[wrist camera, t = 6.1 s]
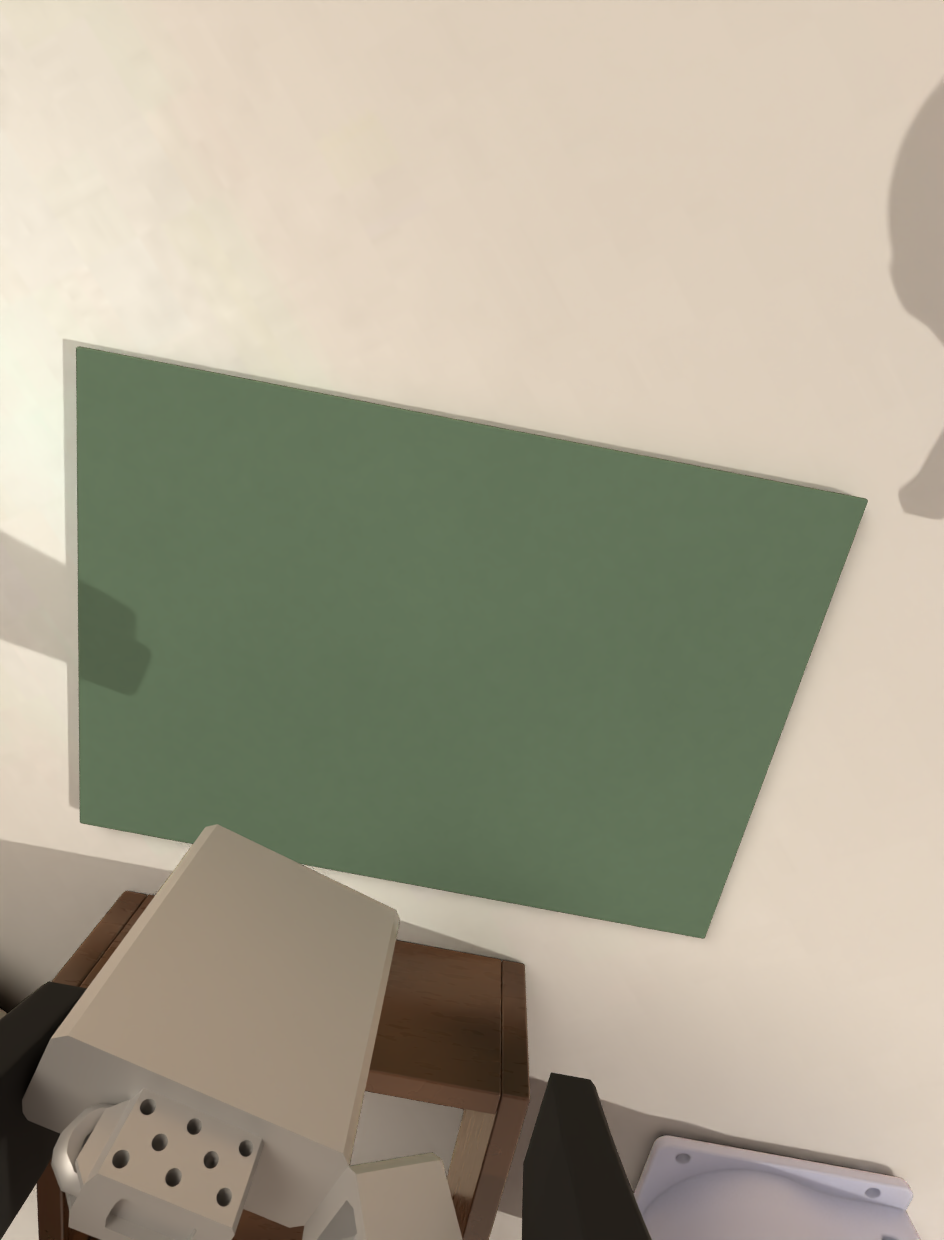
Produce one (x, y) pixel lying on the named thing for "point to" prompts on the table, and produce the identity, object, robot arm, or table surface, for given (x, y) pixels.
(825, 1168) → the robot arm
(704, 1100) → the table surface
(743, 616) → the rubber mat
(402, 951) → the walnut box
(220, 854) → the lighter
